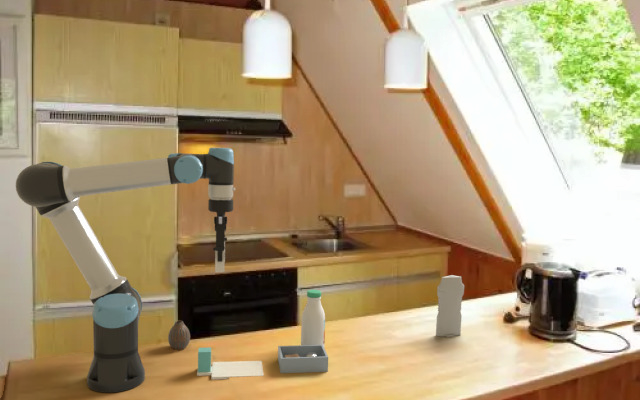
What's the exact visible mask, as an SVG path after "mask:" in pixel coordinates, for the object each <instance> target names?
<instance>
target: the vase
mask: <svg viewBox="0 0 640 400" xmlns="http://www.w3.org/2000/svg"><path fill="white" fill-rule="evenodd" d="M167 337H168V338H167V340H168V344H169V346H170V347H171V349H173V350H175V351H180V350H184V349H186V348H187V347H188V345H189V343H190V341H191V333H190V329H189V328H188V326H186V324H185V323H184V321H183V320H176V321H175V322H174V324H173V325H172V326H171V328H170V330H169V332H168V336H167Z"/></svg>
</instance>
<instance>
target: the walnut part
mask: <svg viewBox="0 0 640 400" xmlns="http://www.w3.org/2000/svg"><path fill="white" fill-rule="evenodd" d="M291 357H300V356H299V355H298V354H290V355H284V358H291Z"/></svg>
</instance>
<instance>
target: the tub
mask: <svg viewBox="0 0 640 400" xmlns="http://www.w3.org/2000/svg"><path fill="white" fill-rule="evenodd" d="M310 352H313V353H316V354H317V357H306V354H307V353H310ZM290 354H298V355H299V356H300V357H291V358H284V355H290ZM277 363H278V367H279V372H280V374H294V373H295V374H297V373H298V374H299V373H321V372H322V373H324V372H325V373H327V372H328V371H329V368H328V367H329V356H328V354H327V351H326V349H325V345H324V346H323V345H301V344H300V345H278V346H277Z"/></svg>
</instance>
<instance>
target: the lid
mask: <svg viewBox="0 0 640 400" xmlns="http://www.w3.org/2000/svg"><path fill="white" fill-rule="evenodd" d="M263 368H264V367H263V361H262V360H245V361H244V360H243V361H241V360H238V361H212V347H198V352H197V372H196V376H197V377H199V376H200V377H201V376H202V377H205V376H208V377H209V376H211V380H212V381H213V380H214V381H217V380H230V378H241V377H243V378H244V377H263V376H264V369H263Z"/></svg>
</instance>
